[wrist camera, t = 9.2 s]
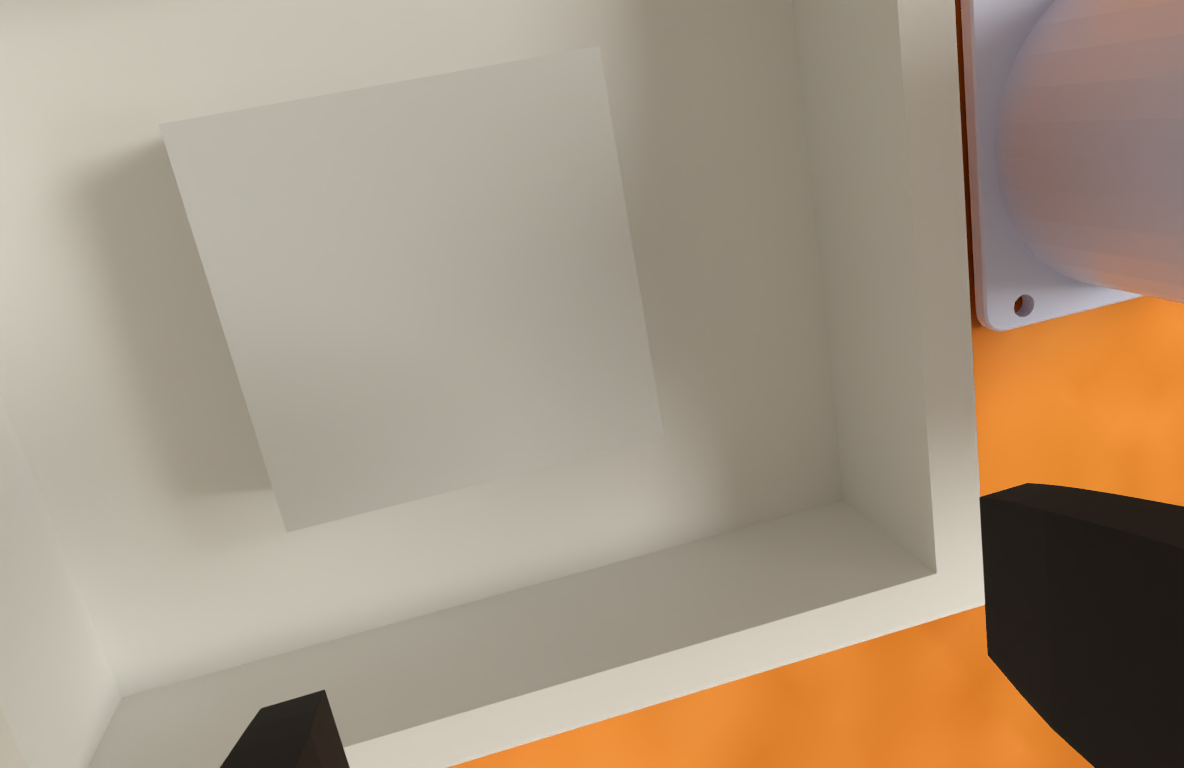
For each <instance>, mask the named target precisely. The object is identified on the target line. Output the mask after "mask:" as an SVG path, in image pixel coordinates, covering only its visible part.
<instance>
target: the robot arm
mask: <svg viewBox="0 0 1184 768" xmlns="http://www.w3.org/2000/svg"><path fill="white" fill-rule="evenodd" d="M961 18H962V38H963V58H964V79H965V99H966V119H967V140H968V160H969V180H970V201H971V221H972V241H973V261H974V282H975V302H976V315H977V319H978V321H979V322H980V323H981V325H982V326H984V327H986V328H988V329H991V330H995V331H1006V330H1010V329H1014V328H1018V327H1022V326H1026V325H1030V324H1034V323H1038V322H1042V321H1046V320H1050V319H1054V318H1058V317H1062V316H1066V315H1070V314H1074V313H1078V312H1082V311H1087V310H1091V309H1095V308H1099V307H1103V306H1107V305H1111V304H1115V303H1119V302H1123V301H1127V300H1131V299H1135V298H1139V297H1143V296H1149V297H1154V298H1159V299H1164V300H1169V301H1174V302H1179V303H1184V0H961ZM1020 296H1022V299H1023V302H1022V307H1021V308H1020V309H1019V311H1018V312H1016V313H1015V311H1014V305H1015V302H1016V300H1017V299H1018V298H1019V297H1020ZM979 501H980V519H981V537H982V556H983V574H984V593H985V611H986V629H987V648H988V656H989V657H990V658H991V659H992V660H993V662H994V663H995V664H996V665H997V666H998V667H999V669H1000V670H1001V671H1002V672H1003V673H1004V675H1005V676H1006V677H1007V678H1008V679H1009V681H1010V682H1011V683H1012V684H1013V685H1014V687H1015V688H1016V689H1017V690H1018V691H1019V692H1020V694H1021V695H1022V696H1023V697H1024V698H1025V699H1026V700H1027V701H1028V703H1029V704H1030V705H1031V706H1032V707H1033V708H1034V709H1035V710H1036V711H1037V712H1038V714H1039V715H1040V716H1041V717H1042V718H1043V719H1044V720H1045V721H1046V722H1047V723H1048V725H1049V726H1050V727H1051V728H1052V729H1053V730H1054V731H1055V732H1056V733H1058V734H1059V735H1060V736H1061V737H1062V738H1063V739H1064V740H1065V741H1066V742H1067V743H1068V744H1069V745H1070V746H1072V747H1073V748H1074V749H1075V750H1076V751H1077V752H1078V753H1079V754H1080V755H1082V756H1083V757H1084V758H1085V759H1086V760H1087V761H1088V762H1089V763H1091V764H1092V765H1093V766H1094V767H1095V768H1184V507H1183V506H1177V505H1172V504H1166V503H1161V502H1155V501H1150V500H1144V499H1139V498H1133V497H1128V496H1122V495H1116V494H1111V493H1104V492H1098V491H1092V490H1086V489H1079V488H1072V487H1064V486H1055V485H1045V484H1032V483H1026V484H1023V485H1020V486H1016V487H1013V488H1009V489H1006V490H1003V491H999V492H996V493H992V494H989V495H986V496H982V497H979ZM220 768H350V767H349V764H348V761H347V758H346V755H345V751H344V748H343V745H342V742H341V739H340V736H339V732H338V729H337V726H336V723H335V720H334V717H333V714H332V710H331V707H330V704H329V701H328V698H327V695H326V691H325V690H321V691H318V692H315V693H311V694H308V695H304V696H301V697H298V698H294V699H291V700H287V701H284V702H280V703H277V704H274V705H270V706H267V707H263V708H261V709H260V710H259V712H258V713H257V714H256V716H255V717H254V718H253V720H252V721H251V722H250V724H249V725H248V727H247V728H246V730H245V731H244V733H243V734H242V736H241V737H240V738H239V740H238V741H237V743H236V744H235V746H234V747H233V749H232V750H231V752H230V753H229V755H228V756H227V758H226V759H225V761H224V762H223V764H222V765H221V766H220Z"/></svg>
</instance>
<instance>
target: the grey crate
mask: <svg viewBox="0 0 1184 768" xmlns="http://www.w3.org/2000/svg"><path fill="white" fill-rule="evenodd" d="M979 497H980V486H979V466H978V447H977V427H976V408H975V388H974V368H973V349H972V329H971V310H970V290H969V271H968V251H967V231H966V212H965V192H964V173H963V153H962V134H961V114H960V94H959V75H958V55H957V36H956V16H955V0H0V768H220V766H221V765H222V764H223V762H224V761H225V759H226V758H227V756H228V755H229V753H230V752H231V750H232V749H233V747H234V746H235V744H236V743H237V741H238V740H239V738H240V737H241V736H242V734H243V733H244V731H245V730H246V728H247V727H248V725H249V724H250V722H251V721H252V720H253V718H254V717H255V716H256V714H257V713H258V712H259V710H260V709H261V708H263V707H267V706H270V705H274V704H277V703H280V702H284V701H287V700H291V699H294V698H298V697H301V696H304V695H308V694H311V693H315V692H318V691H321V690H325V691H326V695H327V698H328V701H329V704H330V707H331V710H332V714H333V717H334V720H335V723H336V726H337V729H338V732H339V736H340V739H341V742H342V745H343V748H344V751H345V755H346V758H347V761H348V764H349V767H350V768H447V767H450V766H454V765H457V764H460V763H463V762H467V761H470V760H473V759H477V758H480V757H483V756H487V755H490V754H493V753H497V752H500V751H503V750H506V749H510V748H513V747H516V746H520V745H523V744H526V743H530V742H533V741H536V740H539V739H543V738H546V737H549V736H553V735H556V734H559V733H563V732H566V731H569V730H573V729H576V728H579V727H582V726H586V725H589V724H592V723H596V722H599V721H602V720H606V719H609V718H612V717H615V716H619V715H622V714H625V713H629V712H632V711H635V710H639V709H642V708H645V707H649V706H652V705H655V704H658V703H662V702H665V701H668V700H672V699H675V698H678V697H682V696H685V695H688V694H691V693H695V692H698V691H701V690H705V689H708V688H711V687H715V686H718V685H721V684H725V683H728V682H731V681H734V680H738V679H741V678H744V677H748V676H751V675H754V674H758V673H761V672H764V671H767V670H771V669H774V668H777V667H781V666H784V665H787V664H791V663H794V662H797V661H801V660H804V659H807V658H810V657H814V656H817V655H820V654H824V653H827V652H830V651H834V650H837V649H840V648H843V647H847V646H850V645H853V644H857V643H860V642H863V641H867V640H870V639H873V638H877V637H880V636H883V635H886V634H890V633H893V632H896V631H900V630H903V629H906V628H910V627H913V626H916V625H919V624H923V623H926V622H929V621H933V620H936V619H939V618H943V617H946V616H949V615H953V614H956V613H959V612H962V611H966V610H969V609H972V608H976V607H979V606H982V605H985V593H984V574H983V556H982V537H981V519H980V501H979Z"/></svg>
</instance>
